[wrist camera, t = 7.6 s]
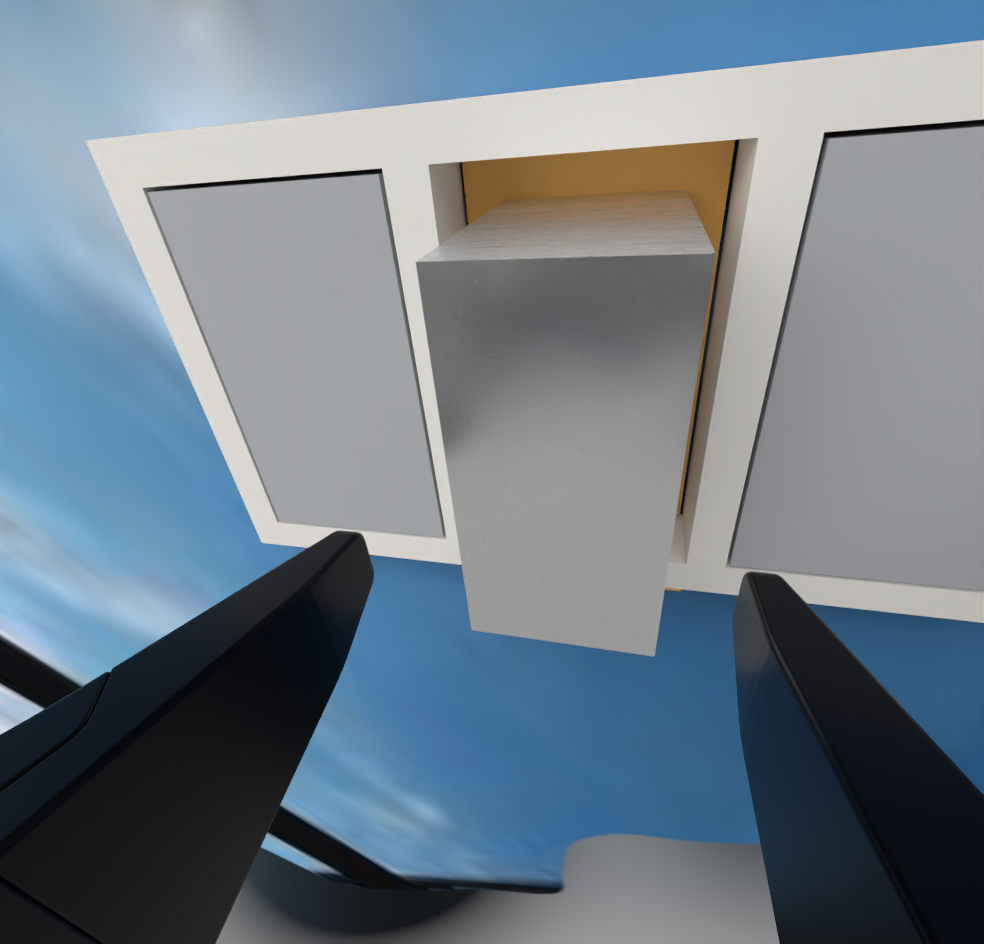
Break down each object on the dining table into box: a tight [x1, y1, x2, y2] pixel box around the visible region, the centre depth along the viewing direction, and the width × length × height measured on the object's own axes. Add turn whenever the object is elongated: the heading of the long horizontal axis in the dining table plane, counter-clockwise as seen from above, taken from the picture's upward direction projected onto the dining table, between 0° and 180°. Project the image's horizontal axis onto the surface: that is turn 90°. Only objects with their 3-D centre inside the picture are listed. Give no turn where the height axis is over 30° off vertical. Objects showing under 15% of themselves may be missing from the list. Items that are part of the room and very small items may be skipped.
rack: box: [86, 40, 984, 623], centre depth 13 cm, size 22×12×2 cm, turn 95°
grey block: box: [416, 189, 716, 657], centre depth 12 cm, size 4×8×6 cm, turn 4°
